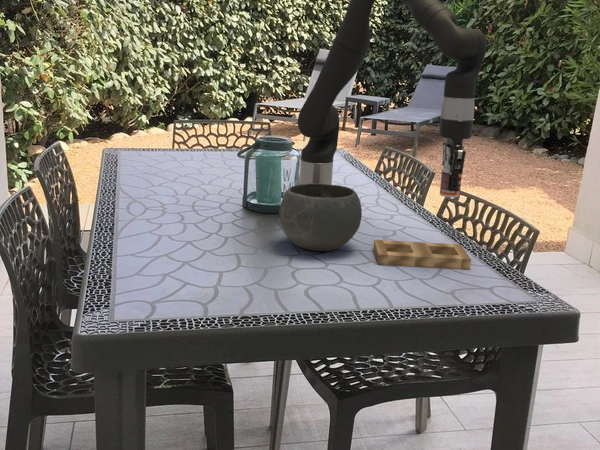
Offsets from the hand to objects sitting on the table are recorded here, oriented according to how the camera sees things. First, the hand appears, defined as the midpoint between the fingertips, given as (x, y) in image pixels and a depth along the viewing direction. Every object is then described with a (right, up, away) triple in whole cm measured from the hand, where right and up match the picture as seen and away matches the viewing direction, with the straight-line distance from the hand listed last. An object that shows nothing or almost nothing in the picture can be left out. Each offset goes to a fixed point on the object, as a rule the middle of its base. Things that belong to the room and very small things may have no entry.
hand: (450, 188), depth 166 cm
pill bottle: (0, -2, +1) cm, 2 cm away
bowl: (-31, -15, +9) cm, 36 cm away
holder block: (-7, -17, +5) cm, 19 cm away
